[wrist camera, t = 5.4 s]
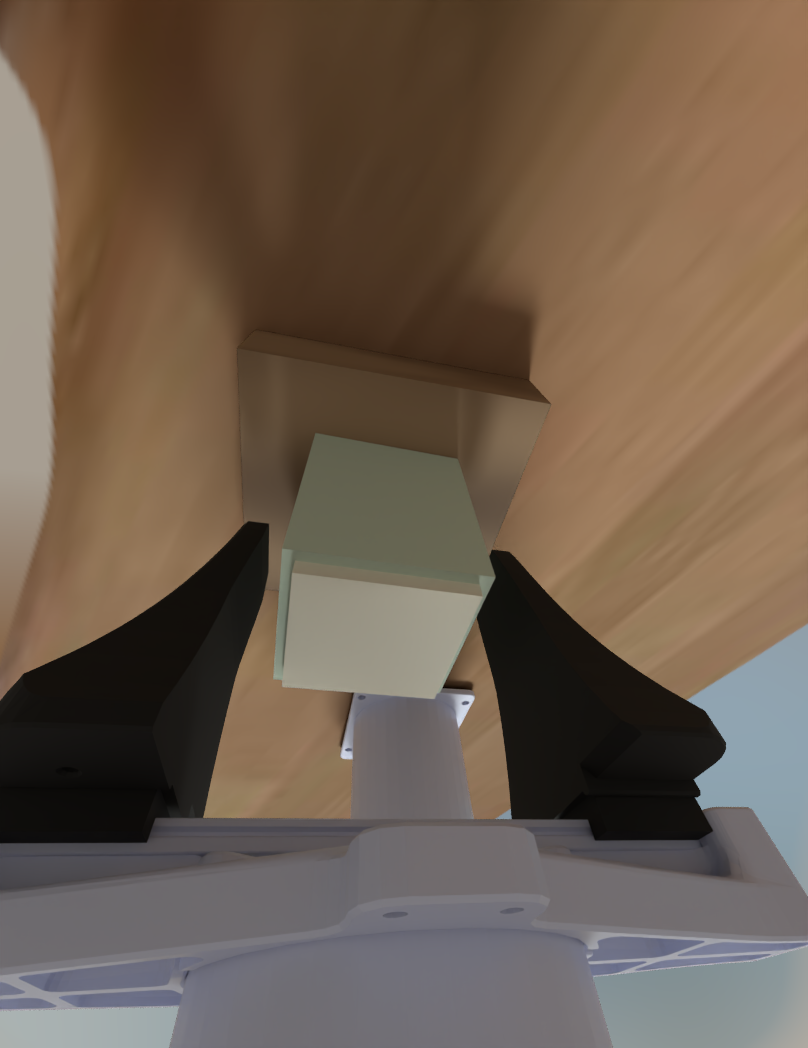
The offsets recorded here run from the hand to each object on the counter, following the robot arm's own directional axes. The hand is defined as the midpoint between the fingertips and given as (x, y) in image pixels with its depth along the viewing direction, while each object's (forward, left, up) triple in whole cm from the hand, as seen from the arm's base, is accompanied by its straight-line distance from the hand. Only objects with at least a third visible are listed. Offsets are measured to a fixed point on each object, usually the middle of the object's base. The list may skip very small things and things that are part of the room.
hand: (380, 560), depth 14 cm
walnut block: (0, 0, -6) cm, 6 cm away
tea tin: (0, 0, -3) cm, 3 cm away
